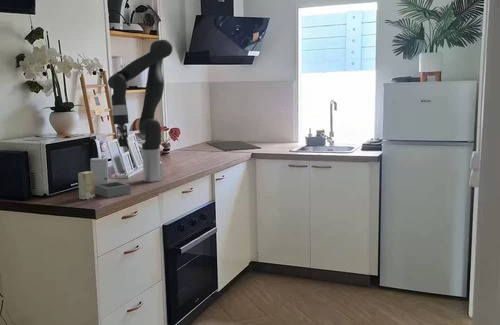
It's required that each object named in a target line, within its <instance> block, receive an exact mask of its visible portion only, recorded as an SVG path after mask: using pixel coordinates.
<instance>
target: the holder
mask: <svg viewBox="0 0 500 325" xmlns="http://www.w3.org/2000/svg"><path fill="white" fill-rule="evenodd" d="M96 194H97V196H100V195H101V196H100V197H103V196H104V197H103V198H106V197H108V198H107V199H109V197H111V198H115V196H116V197H121V196H120V195H122V196H127V195H131V194H132V192H131V184H130V183H125V182H121V181H117V180H116V181H112V182H111V181H110V182H108V183H104V184H98V185H95V195H96Z"/></svg>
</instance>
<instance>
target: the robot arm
mask: <svg viewBox="0 0 500 325" xmlns="http://www.w3.org/2000/svg"><path fill="white" fill-rule="evenodd" d="M172 52H173V45H172V43H171V42H170V41H169V40H167V39H157V40H154V41H153V42H152V43H151V45H150V48H149V52H147V53H146V54H144V55H142V56H139V58H136V59H134V60H132V61H131V62H129V64H127V65H126V66H124V67H123V68H122V69H121V70H119V71H118V72H115V73H114V74H112V75H111V76H110V77H109V78H108V80H107V84H108V86H109V88H110V89H112V91H113V92H112V95H111V98H110V99H111V108H112V109H111V112H112V124H113V125H117V126H116V129H115V130H116V139H117V140H118V145H119V147H120V148H122V147H123V148H126V147H128V136H129V134H128V126H127V125H128V124H129V113H128V105H127V97H126V95H127V83H128V82H129V81H131V80H134V79H135V78H136V77H138V76H139V75H140V74H141V73H143V72H144V71H145V70H147V69H148V71H147V78H146V84H145V92H144V97H143V98H144V99H143V105H142V110H141V113H140V114H141V115H140V119H139V121H138V131H139V133H140V134H141V135H142V136H144V138H145V140H144V142H143V143H142V145H141V151H142V152H141V153H142V170H143V182H146V183H147V182H148V183H152V182H153V183H155V182H160V181H162V180H164V179H163V176H164V175H163V162H161V150H160V149H161V148H160V147H161V142H162V127H161V123H160V121H158V120H157V119H155V113H156V109H157V107H158V105H159V104H160V102H161V99H162V97H163V95H164V90H165V88H164V87H165V80H164V75H163V71H162V70H163V69H162V68H163V62H164V59H165V58H167V57H169V56H170V55H171V54H172Z"/></svg>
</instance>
